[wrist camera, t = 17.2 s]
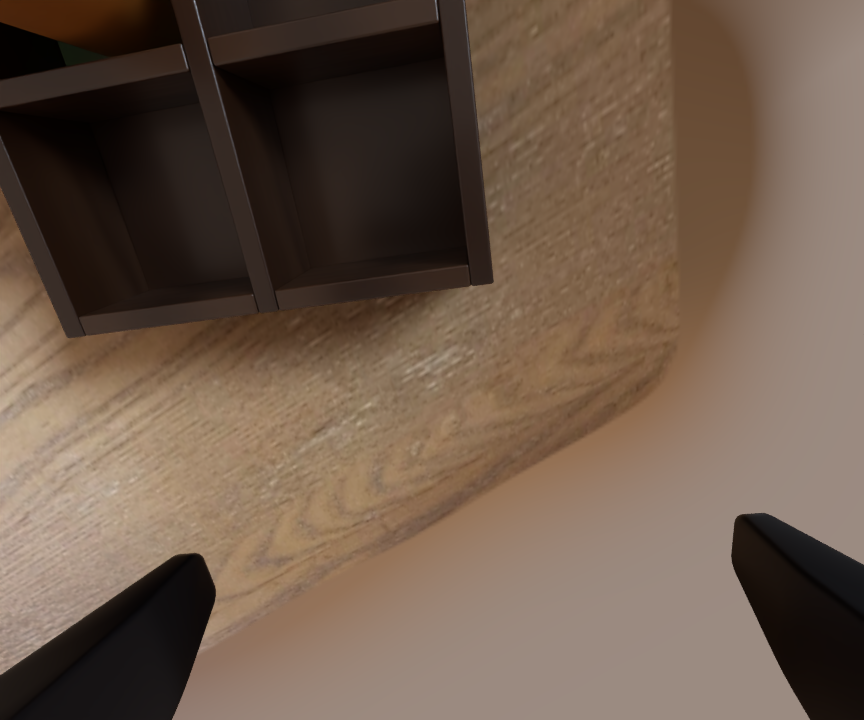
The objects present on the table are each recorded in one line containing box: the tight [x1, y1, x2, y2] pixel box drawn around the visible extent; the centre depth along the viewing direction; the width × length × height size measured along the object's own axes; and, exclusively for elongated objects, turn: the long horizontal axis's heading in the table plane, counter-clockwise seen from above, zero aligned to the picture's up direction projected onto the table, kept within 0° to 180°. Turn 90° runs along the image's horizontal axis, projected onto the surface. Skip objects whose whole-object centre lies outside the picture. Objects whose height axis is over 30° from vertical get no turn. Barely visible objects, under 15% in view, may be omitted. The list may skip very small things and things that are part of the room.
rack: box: [0, 0, 494, 338], centre depth 15 cm, size 15×15×5 cm
